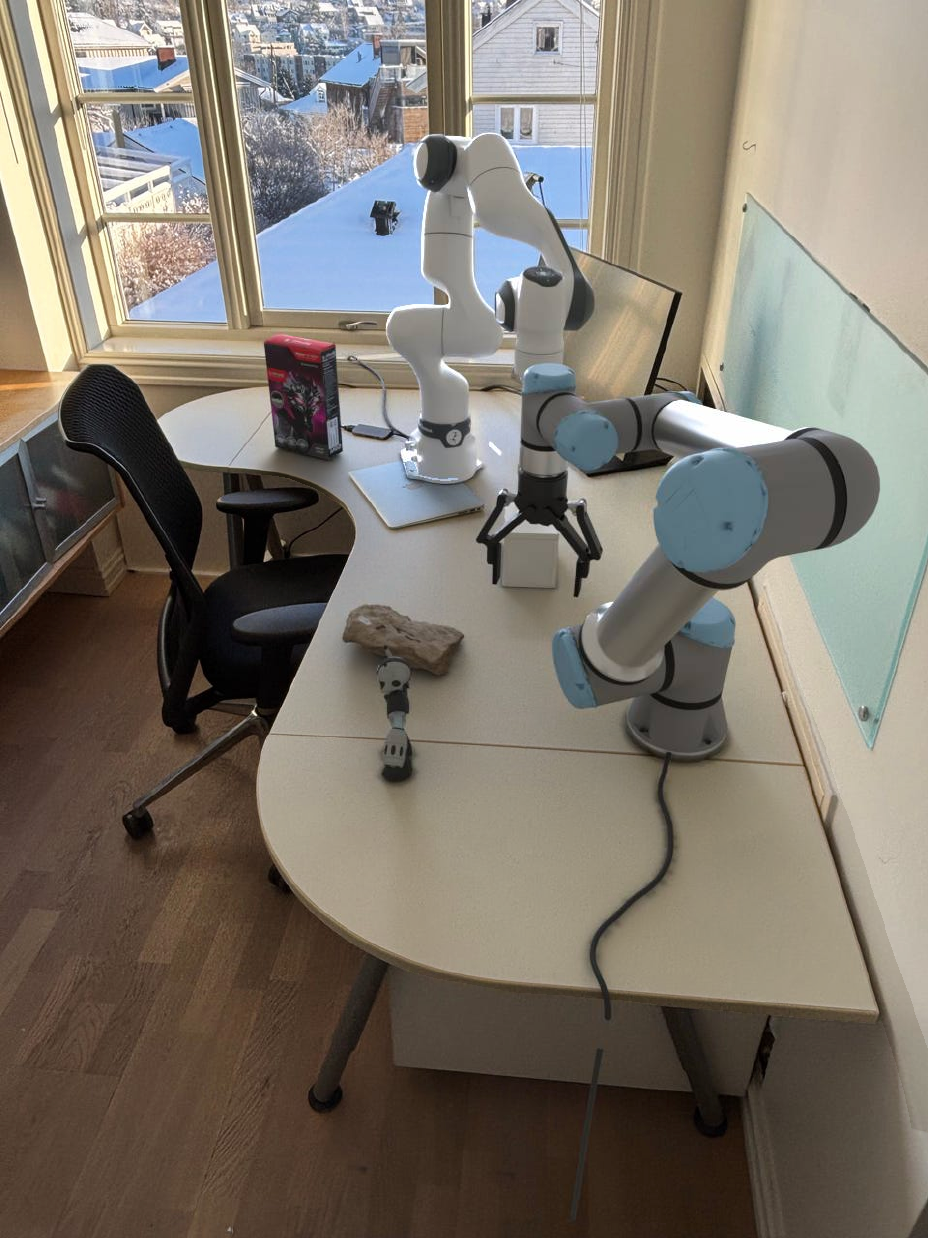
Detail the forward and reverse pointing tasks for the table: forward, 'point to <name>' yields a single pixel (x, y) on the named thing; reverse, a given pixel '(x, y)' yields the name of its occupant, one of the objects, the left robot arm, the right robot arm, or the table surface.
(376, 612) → the stone
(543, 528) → the white lid with handle
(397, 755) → the robot
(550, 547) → the chest
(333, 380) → the graphics card box
